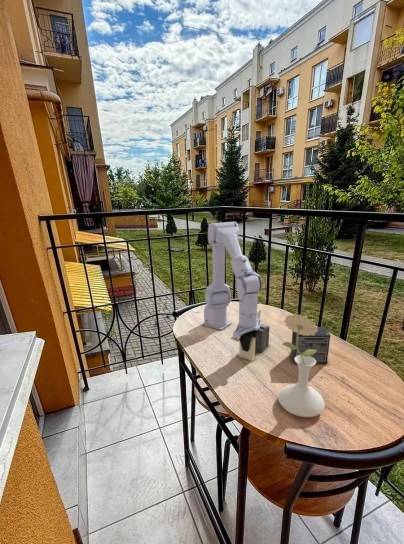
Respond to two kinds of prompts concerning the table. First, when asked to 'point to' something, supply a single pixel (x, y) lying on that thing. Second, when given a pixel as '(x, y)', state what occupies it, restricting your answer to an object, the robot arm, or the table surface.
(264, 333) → the grey books
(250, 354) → the cream book
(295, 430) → the table surface
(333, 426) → the table surface
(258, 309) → the cream books
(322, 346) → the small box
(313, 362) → the flower in vase
